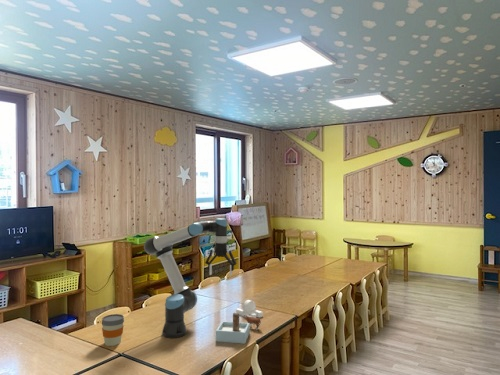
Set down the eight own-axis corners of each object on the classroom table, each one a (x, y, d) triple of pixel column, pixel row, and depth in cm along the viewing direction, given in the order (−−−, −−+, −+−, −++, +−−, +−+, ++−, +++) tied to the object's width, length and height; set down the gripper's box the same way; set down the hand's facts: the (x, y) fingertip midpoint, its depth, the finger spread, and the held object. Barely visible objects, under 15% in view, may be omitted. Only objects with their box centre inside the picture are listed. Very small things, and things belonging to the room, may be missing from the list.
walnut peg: (232, 339, 224) (232, 314, 224) (233, 336, 228) (233, 312, 228) (238, 339, 223) (238, 315, 223) (239, 337, 227) (239, 313, 227)
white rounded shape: (262, 316, 265) (262, 301, 265) (253, 320, 258) (253, 304, 258) (245, 311, 278) (245, 296, 278) (235, 314, 271) (236, 299, 271)
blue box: (215, 341, 221) (215, 330, 221) (222, 331, 237) (222, 321, 237) (244, 343, 218) (245, 332, 218) (249, 333, 234) (249, 323, 234)
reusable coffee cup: (114, 336, 226) (114, 312, 226) (128, 341, 220) (128, 316, 220) (96, 344, 216) (97, 318, 216) (111, 349, 209) (111, 322, 209)
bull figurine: (246, 324, 249) (246, 312, 249) (261, 329, 241) (261, 316, 241) (242, 326, 246) (242, 314, 246) (257, 331, 237) (257, 318, 238)
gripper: (200, 242, 234) (200, 275, 234) (238, 243, 230) (238, 277, 230) (204, 240, 242) (203, 272, 242) (241, 242, 238) (240, 274, 237)
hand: (220, 275), depth 236 cm, fingers open, 13 cm apart
